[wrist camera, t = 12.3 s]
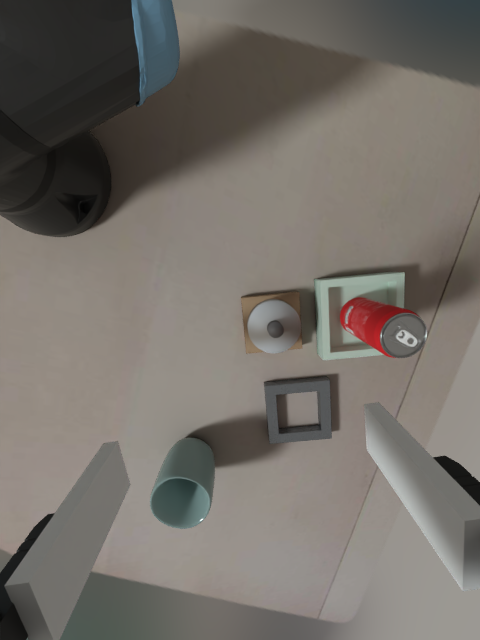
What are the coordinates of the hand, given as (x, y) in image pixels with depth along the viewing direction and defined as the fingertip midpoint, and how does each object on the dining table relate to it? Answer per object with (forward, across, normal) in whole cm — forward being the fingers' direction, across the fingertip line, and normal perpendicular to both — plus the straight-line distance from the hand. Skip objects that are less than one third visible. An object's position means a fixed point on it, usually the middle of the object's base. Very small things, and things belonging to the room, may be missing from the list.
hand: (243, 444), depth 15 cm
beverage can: (+26, +17, -1) cm, 31 cm away
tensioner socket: (+26, +7, -14) cm, 31 cm away
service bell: (+27, +5, 0) cm, 27 cm away
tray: (+27, +17, -1) cm, 32 cm away
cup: (+27, -10, -20) cm, 35 cm away
